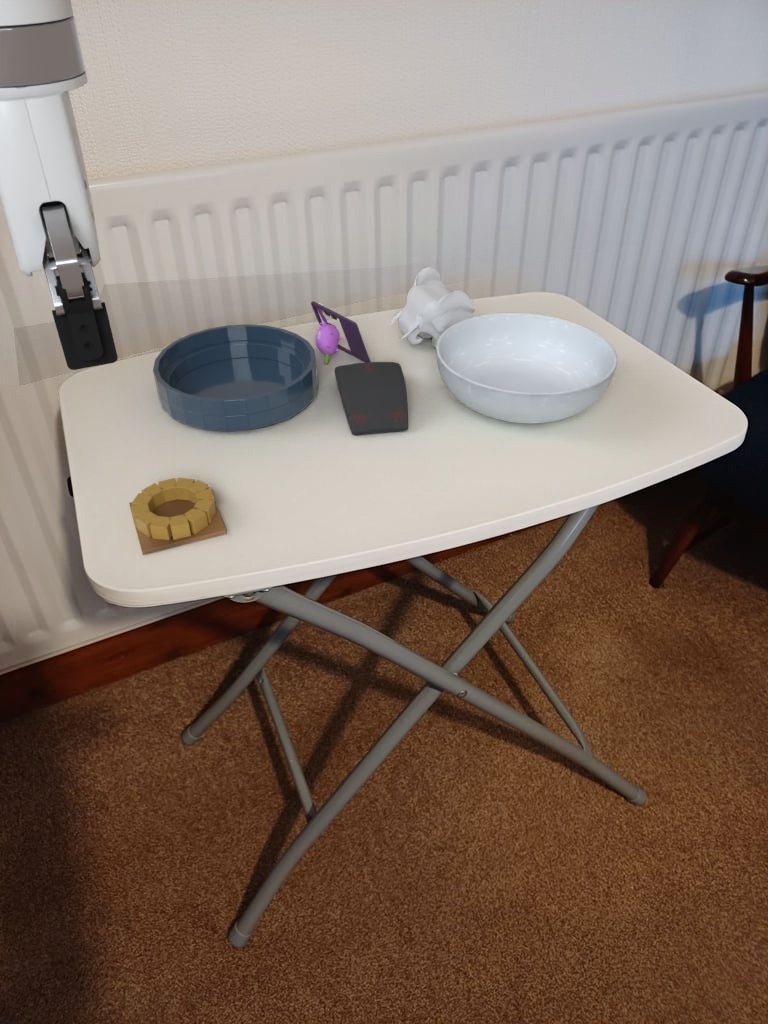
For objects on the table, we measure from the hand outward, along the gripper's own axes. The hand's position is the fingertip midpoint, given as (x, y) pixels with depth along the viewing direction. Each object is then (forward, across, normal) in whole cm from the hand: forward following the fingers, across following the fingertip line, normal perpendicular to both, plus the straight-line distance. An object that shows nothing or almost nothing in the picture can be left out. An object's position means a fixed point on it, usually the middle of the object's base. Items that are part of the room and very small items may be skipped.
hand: (85, 333), depth 55 cm
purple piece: (+24, -34, +30) cm, 52 cm away
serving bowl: (+24, -15, +47) cm, 55 cm away
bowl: (+24, -30, +16) cm, 42 cm away
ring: (+24, -8, +4) cm, 26 cm away
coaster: (+24, -8, +4) cm, 26 cm away
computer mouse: (+24, -21, +30) cm, 44 cm away
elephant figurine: (+24, -33, +44) cm, 60 cm away
